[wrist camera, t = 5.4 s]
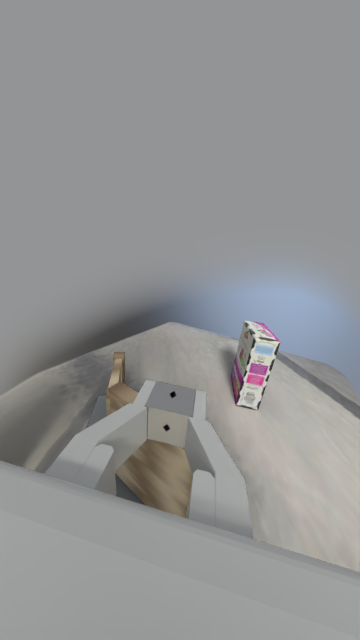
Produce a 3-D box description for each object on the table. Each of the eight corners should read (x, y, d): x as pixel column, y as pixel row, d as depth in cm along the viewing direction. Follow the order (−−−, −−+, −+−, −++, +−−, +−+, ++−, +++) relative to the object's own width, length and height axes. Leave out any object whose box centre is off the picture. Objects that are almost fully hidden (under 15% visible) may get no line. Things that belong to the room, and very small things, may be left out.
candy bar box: (259, 411, 36) (282, 341, 31) (235, 406, 37) (253, 337, 32) (249, 378, 47) (264, 322, 41) (230, 375, 47) (243, 319, 42)
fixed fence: (116, 467, 24) (115, 405, 20) (102, 469, 23) (98, 407, 20) (124, 398, 35) (124, 352, 32) (115, 398, 35) (114, 352, 32)
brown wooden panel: (110, 472, 23) (107, 389, 18) (121, 460, 24) (120, 380, 20) (192, 560, 17) (215, 466, 12) (200, 537, 18) (223, 446, 14)
